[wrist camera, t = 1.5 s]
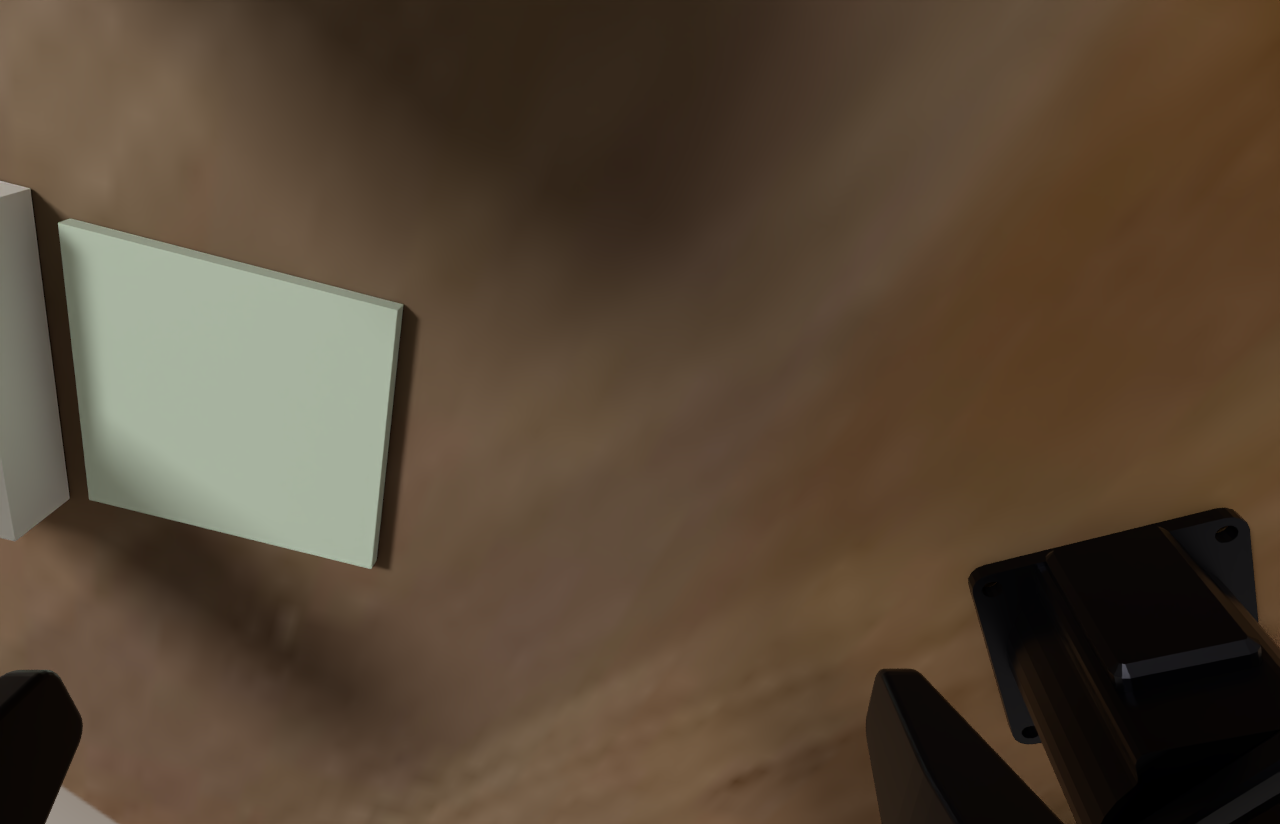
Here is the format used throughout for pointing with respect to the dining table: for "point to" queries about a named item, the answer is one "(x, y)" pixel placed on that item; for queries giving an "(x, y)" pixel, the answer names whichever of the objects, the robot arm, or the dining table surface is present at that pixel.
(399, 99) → the dining table surface
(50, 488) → the white square frame
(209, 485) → the mat
